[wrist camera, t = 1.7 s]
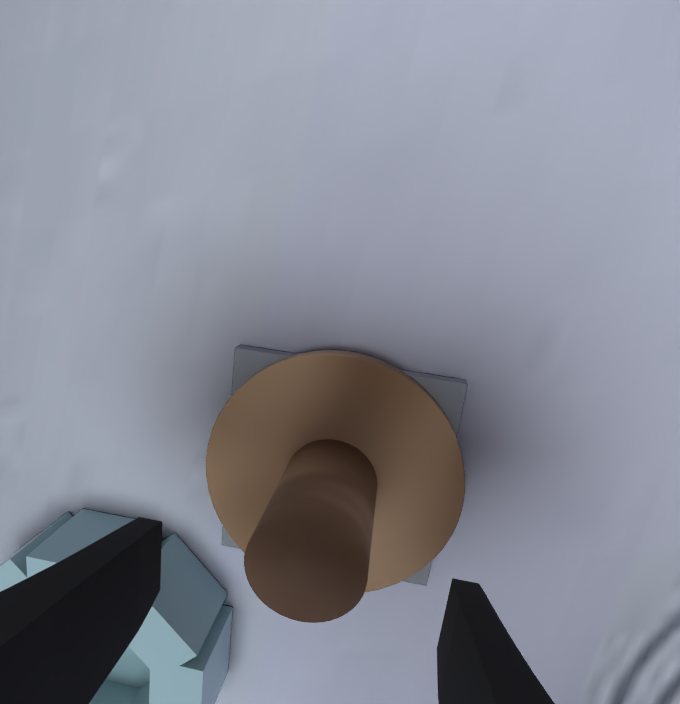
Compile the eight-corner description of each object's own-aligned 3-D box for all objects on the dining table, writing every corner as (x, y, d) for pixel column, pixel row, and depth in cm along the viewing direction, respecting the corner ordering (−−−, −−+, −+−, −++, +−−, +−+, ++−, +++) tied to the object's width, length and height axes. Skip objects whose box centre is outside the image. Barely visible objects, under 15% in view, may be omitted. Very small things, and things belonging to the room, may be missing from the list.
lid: (485, 372, 15) (525, 437, 10) (437, 599, 18) (450, 743, 13) (222, 331, 16) (140, 374, 11) (208, 553, 18) (136, 670, 13)
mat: (465, 379, 16) (467, 384, 15) (426, 576, 18) (426, 585, 17) (239, 345, 17) (234, 347, 16) (226, 536, 19) (221, 544, 18)
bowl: (238, 539, 19) (207, 594, 16) (223, 728, 21) (194, 805, 18) (9, 494, 20) (-59, 538, 17) (21, 680, 22) (-36, 746, 19)
